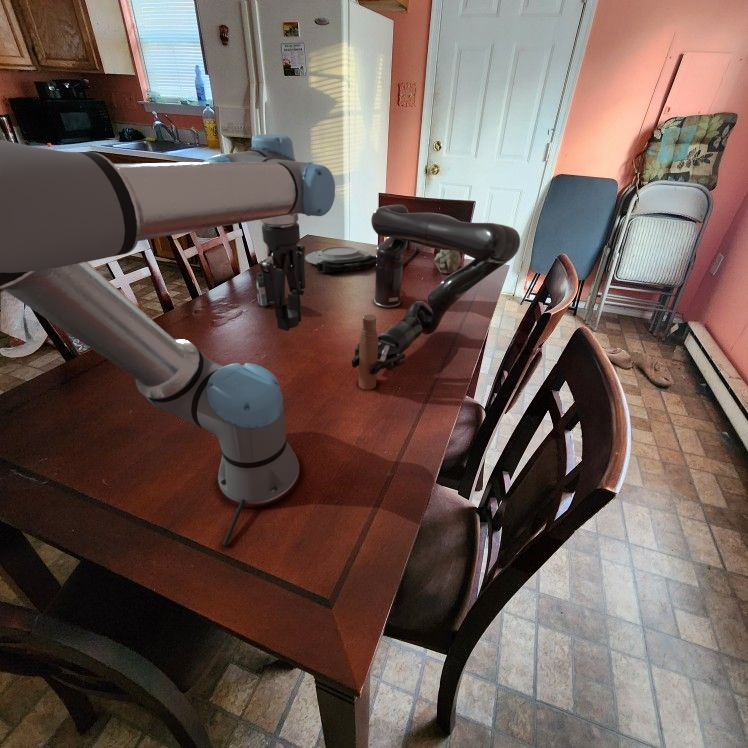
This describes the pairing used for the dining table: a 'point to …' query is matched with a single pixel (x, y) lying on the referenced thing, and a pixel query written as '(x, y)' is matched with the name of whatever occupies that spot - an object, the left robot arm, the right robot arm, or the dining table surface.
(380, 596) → the dining table surface
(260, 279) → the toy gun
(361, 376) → the bottle
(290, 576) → the dining table surface
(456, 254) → the lumpy boulder
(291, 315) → the cap
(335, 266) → the brake disc
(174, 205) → the left robot arm
